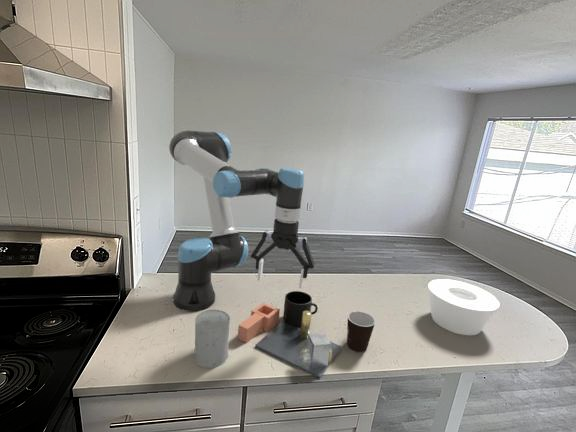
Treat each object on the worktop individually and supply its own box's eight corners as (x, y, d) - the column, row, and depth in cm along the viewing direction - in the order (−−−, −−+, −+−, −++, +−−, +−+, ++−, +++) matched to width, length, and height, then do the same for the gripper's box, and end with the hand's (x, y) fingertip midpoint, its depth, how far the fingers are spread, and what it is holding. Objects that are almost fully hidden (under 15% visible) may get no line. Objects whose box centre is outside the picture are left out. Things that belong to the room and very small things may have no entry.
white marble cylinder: (197, 345, 99) (198, 309, 96) (229, 345, 100) (231, 310, 97) (191, 367, 90) (192, 328, 87) (226, 368, 91) (228, 329, 88)
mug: (318, 328, 113) (321, 305, 111) (284, 327, 111) (286, 304, 109) (313, 313, 122) (316, 291, 120) (281, 312, 121) (284, 290, 118)
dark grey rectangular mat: (255, 347, 100) (255, 344, 100) (282, 323, 114) (282, 321, 114) (319, 378, 90) (320, 376, 90) (341, 348, 103) (341, 346, 103)
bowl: (487, 316, 131) (494, 289, 128) (495, 350, 110) (505, 318, 107) (423, 299, 141) (429, 274, 138) (420, 327, 119) (427, 297, 116)
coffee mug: (365, 358, 100) (370, 330, 97) (339, 347, 104) (343, 319, 101) (376, 340, 109) (381, 313, 107) (352, 330, 114) (356, 304, 111)
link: (251, 345, 101) (252, 331, 100) (233, 336, 104) (234, 322, 103) (278, 321, 115) (279, 309, 113) (262, 314, 118) (263, 302, 117)
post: (298, 336, 106) (301, 313, 104) (302, 332, 109) (305, 309, 107) (306, 339, 105) (309, 316, 103) (310, 335, 107) (312, 312, 105)
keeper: (305, 354, 98) (308, 333, 96) (325, 352, 99) (328, 331, 98) (311, 367, 93) (314, 345, 91) (332, 365, 94) (335, 343, 92)
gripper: (243, 216, 98) (239, 280, 104) (326, 229, 94) (317, 295, 100) (251, 210, 105) (246, 270, 111) (328, 222, 101) (319, 284, 107)
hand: (280, 282), depth 105 cm, fingers open, 13 cm apart
